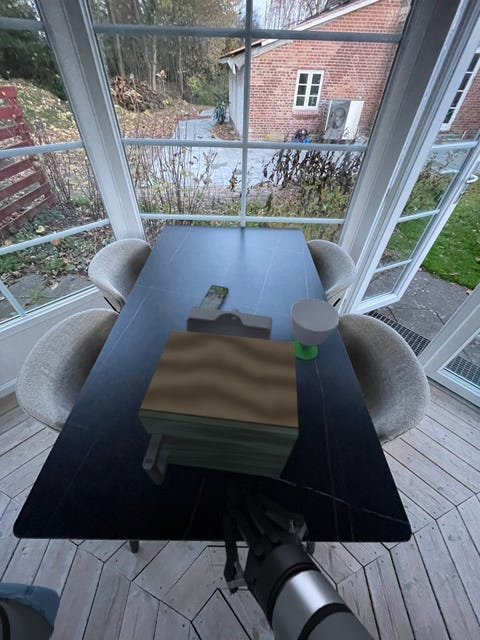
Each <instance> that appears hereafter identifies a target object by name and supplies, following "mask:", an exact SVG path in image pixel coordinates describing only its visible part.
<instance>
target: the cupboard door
mask: <svg viewBox="0 0 480 640" xmlns="http://www.w3.org/2000/svg"><path fill="white" fill-rule="evenodd" d="M137 417H138V419H139V421H140V422H141V424H142V426H143V428H144V430H145V431H146V433H147V435H148V436H149V439H150V440H149V444H148V447H147V450H146V453H145V456H144V459H143V462H142V469H143V470H144V471H145V472H146V473H147V475H148V476H149V478H150V479H151V480H152V482H153V483H154V484H155V485H157V486H160V485H162V484H163V483H164V482H165V481H164V480H165V478H166V473H167V470H168V466H169V464H172V465H179V466H187V467H192V468H200V469H201V468H202V469H208V470H217V471H222V472H231V473H236V474H237V473H238V474H245V475H251V476H252V475H253V476H259V477H268V478H276V479H279V478H280V477H281V474H282V472H283V470H284V468H285V466H286V465H287V461H288V460H289V457H290V455H291V453H292V451H293V448H294V446H295V444H296V441H297V440H298V437H299V429H293V428H285V427H277V426H268V425H260V424H252V423H244V422H236V421H227V420H219V419H211V418H203V417H195V416H187V415H178V414H170V413H162V412H154V411H146V410H141V409H139V411H138V413H137Z"/></svg>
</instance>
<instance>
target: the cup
mask: <svg viewBox="0 0 480 640" xmlns="http://www.w3.org/2000/svg"><path fill="white" fill-rule="evenodd" d="M340 319H341V317H340V314H339V311H338V310H337V309H336V308H335V306H333V305H332V304H331V303H330V302H327V301H325V300H323V299H318V298H315V297H313V298H312V297H305V298H302V299H298V300H297V301H296V302H294V303H293V304H292V306H291V308H290V324H291V328H290V329H291V333H292V336H293V337H294V340H292V341H291V342H294V343H295V358H297V359H300V360H302V361H311V360H313V359H315V358H316V357H317V356H318V354H319V348H318V346H319V345H323V344H324V343H325V342H326V341H327V340H328V338H329V337H330V335H332V333H333V332H334V331H335V329H336V328H337V327H338V326H339V325H340V321H341V320H340Z"/></svg>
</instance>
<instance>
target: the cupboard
mask: <svg viewBox="0 0 480 640" xmlns="http://www.w3.org/2000/svg"><path fill="white" fill-rule="evenodd" d="M297 387H298V386H297V369H296V356H295V343H294V342H292V341H282V340H272V339H270V340H264V339H254V338H244V337H234V336H224V335H214V334H204V333H194V332H186V331H184V330H175V329H174V330H173V329H171V331H170V334H169V336H168V338H167V341H166V343H165V345H164V348H163V351H162V353H161V356H160V357H159V361H158V363H157V365H156V368H155V371H154V373H153V375H152V378H151V380H150V383H149V385H148V388H147V390H146V393H145V396H144V398H143V400H142V402H141V405H140V410H146V411H154V412H162V413H170V414H178V415H187V416H195V417H203V418H211V419H219V420H227V421H236V422H244V423H252V424H260V425H268V426H277V427H285V428H293V429H298V428H299V414H298V390H297ZM298 430H299V429H298Z"/></svg>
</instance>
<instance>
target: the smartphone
mask: <svg viewBox="0 0 480 640" xmlns="http://www.w3.org/2000/svg"><path fill="white" fill-rule="evenodd" d="M228 294H229V288H228V287H226V286H219V285H214V284H213V285H211V286H210V287H209V289H208V290H207V292H206V294H205V296H204V297H203V298H202V300H201V302H200V305H199V306H198V307H202V308H209V309H216V310H221V307H222V305H223V303H224V301H225V299H226V297H227V295H228Z"/></svg>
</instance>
